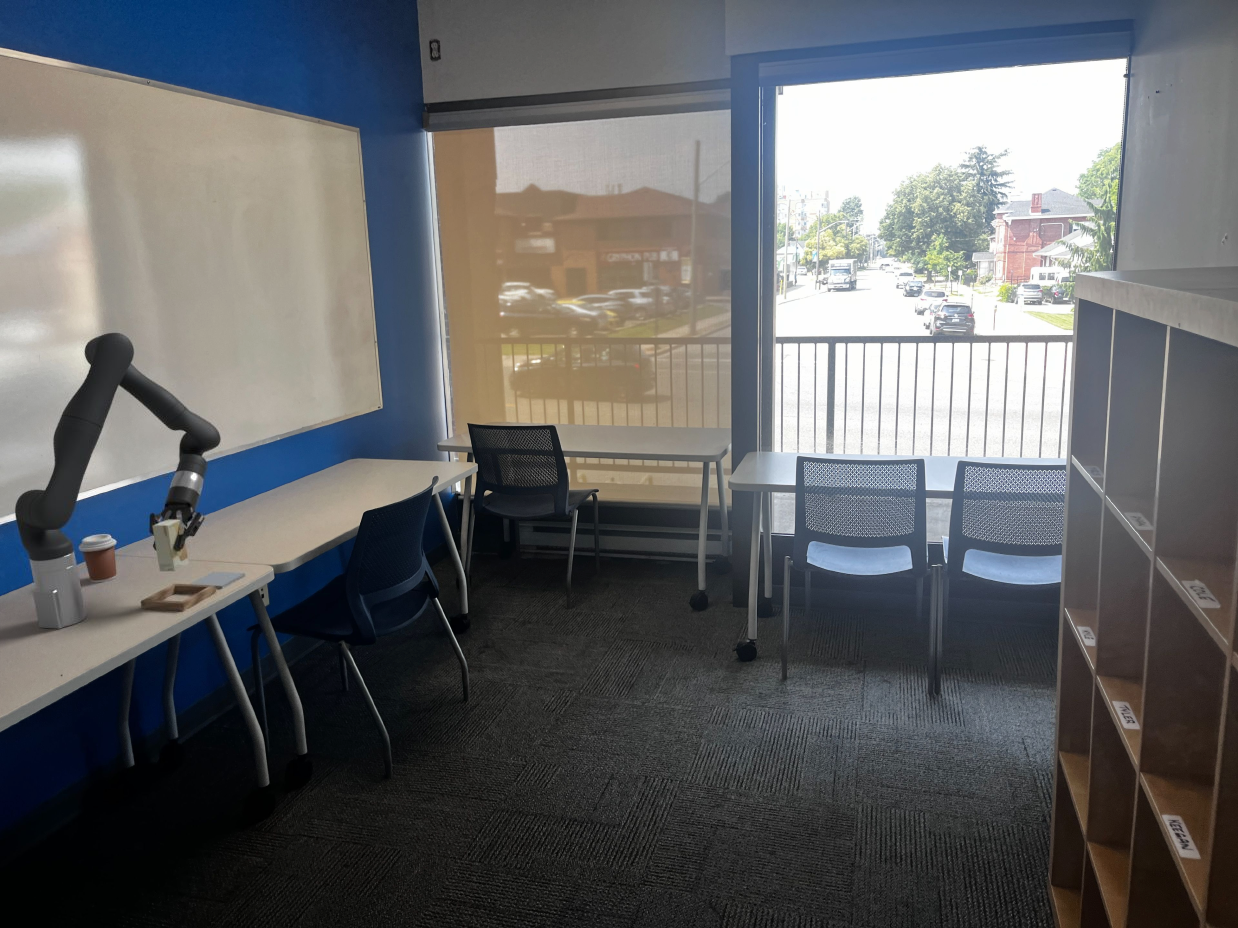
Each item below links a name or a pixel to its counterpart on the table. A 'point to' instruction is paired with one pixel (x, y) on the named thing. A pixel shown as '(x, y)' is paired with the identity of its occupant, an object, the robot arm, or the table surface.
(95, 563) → the coffee cup
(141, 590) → the table surface
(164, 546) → the skincare box
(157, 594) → the frame
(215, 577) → the grey rubber pad
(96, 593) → the table surface
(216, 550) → the table surface
